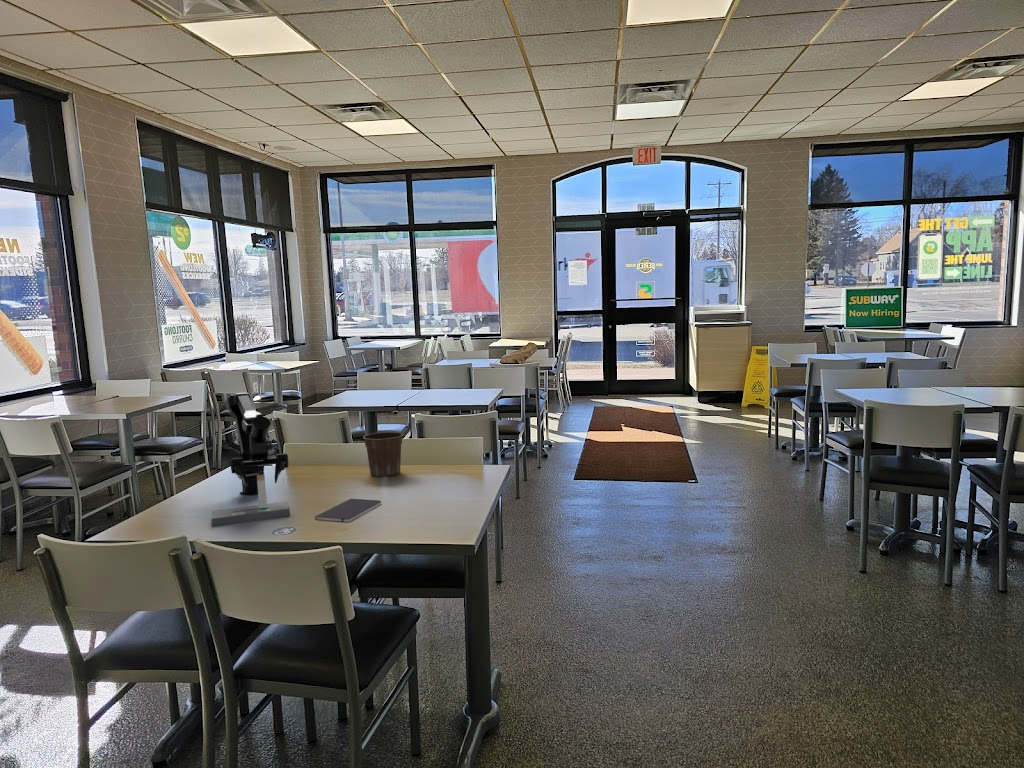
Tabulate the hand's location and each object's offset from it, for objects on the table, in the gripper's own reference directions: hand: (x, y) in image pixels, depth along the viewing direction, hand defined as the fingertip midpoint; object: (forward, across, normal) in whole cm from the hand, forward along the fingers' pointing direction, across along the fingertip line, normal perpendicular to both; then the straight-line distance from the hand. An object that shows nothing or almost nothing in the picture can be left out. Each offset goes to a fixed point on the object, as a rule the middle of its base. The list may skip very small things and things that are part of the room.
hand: (261, 484), depth 237 cm
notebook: (+16, +28, -2) cm, 32 cm away
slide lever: (+7, 0, +2) cm, 8 cm away
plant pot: (-17, +48, +32) cm, 60 cm away
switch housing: (+9, -4, +4) cm, 11 cm away
